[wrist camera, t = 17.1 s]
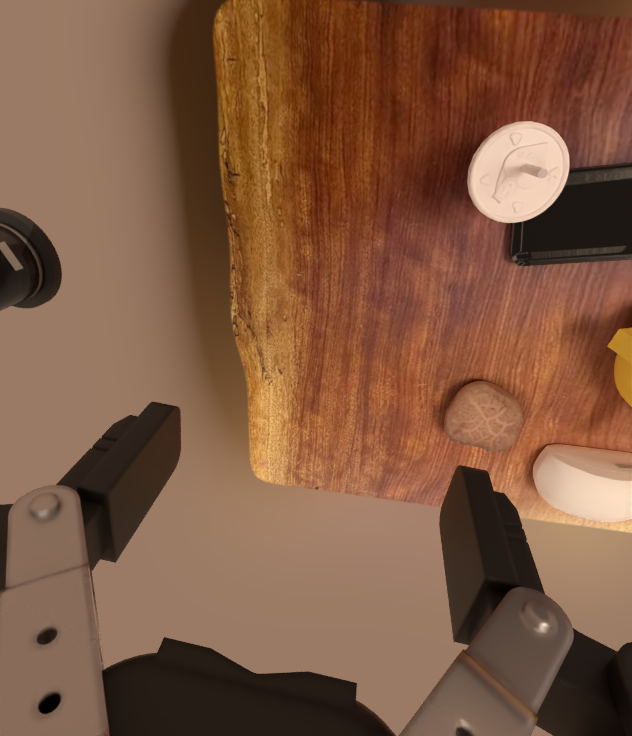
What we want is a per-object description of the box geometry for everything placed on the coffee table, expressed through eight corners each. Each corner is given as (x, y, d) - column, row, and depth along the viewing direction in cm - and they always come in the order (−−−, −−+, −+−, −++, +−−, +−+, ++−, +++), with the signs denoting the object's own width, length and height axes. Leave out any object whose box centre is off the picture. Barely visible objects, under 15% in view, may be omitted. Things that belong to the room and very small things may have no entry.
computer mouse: (641, 498, 52) (670, 541, 46) (524, 482, 54) (538, 522, 48) (663, 454, 49) (696, 495, 43) (538, 439, 50) (555, 477, 45)
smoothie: (550, 155, 38) (621, 169, 25) (492, 218, 41) (531, 257, 28) (493, 104, 37) (539, 93, 24) (438, 173, 40) (455, 194, 27)
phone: (518, 175, 38) (726, 155, 35) (515, 174, 39) (717, 154, 36) (510, 267, 41) (697, 256, 38) (507, 264, 42) (690, 253, 39)
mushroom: (505, 449, 52) (544, 406, 46) (483, 481, 48) (522, 438, 42) (450, 409, 54) (480, 364, 49) (425, 436, 51) (455, 391, 45)
